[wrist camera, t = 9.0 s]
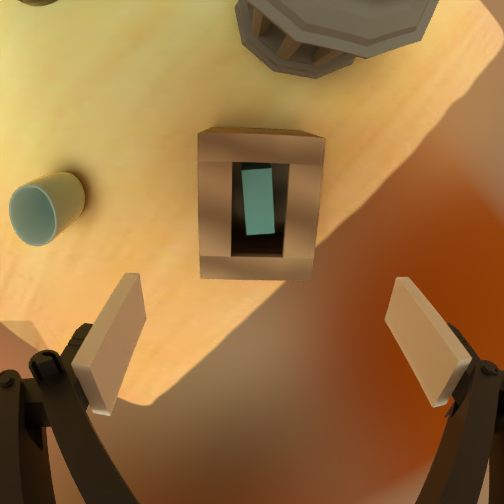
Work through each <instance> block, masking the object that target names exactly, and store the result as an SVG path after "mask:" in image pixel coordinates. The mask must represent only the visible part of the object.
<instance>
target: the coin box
mask: <svg viewBox="0 0 504 504" xmlns="http://www.w3.org/2000/svg"><path fill="white" fill-rule="evenodd" d="M324 151H325V138H322V137H319V136H316V135H313V134H310V133H307V132H304V131H297V130H282V129H262V128H209V129H207V130H205V131H202V132H200V133H198V223H199V255H200V279H230V280H292V281H310V280H311V273H312V267H313V259H314V251H315V243H316V234H317V225H318V216H319V207H320V197H321V186H322V175H323V164H324ZM242 162H257V163H269V164H270V166H271V169H272V187H273V207H274V228H275V233H270V234H256V235H247V234H246V221H245V209H244V196H243V184H242V171H241V169H242Z"/></svg>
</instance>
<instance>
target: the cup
mask: <svg viewBox="0 0 504 504" xmlns="http://www.w3.org/2000/svg"><path fill="white" fill-rule="evenodd" d="M84 204H85V193H84V189H83V186H82V184H81V182H80V181H79V179H78V178H77V177H76V176H74V175H73V174H70V173H67V172H56V173H51V174H47V175H44V176H42V177H39V178H37V179H34V180H32V181H30V182H28V183H26V184H24V185H22V186H20V187H19V188H18V189H17V190H15V192H14V193H13V194H12V197H11V199H10V204H9V214H10V219H11V223H12V226H13V228H14V230H15V232H16V234H17V235H18V236H19V238H20V239H21V240H22V241H24V242H25V243H27V244H29V245H32V246H43V245H46V244H48V243H49V242H51V241H53V240H54V239H55V238H56V237H58V236H59V235H60V234H61V233H63V232H64V231H65V230H66V229H67V228H68V227H70V226H71V225H72V224H73V223H74V222H75V221H76V220H77V218H78V217H79V216H80V214H81V213H82V211H83V208H84Z"/></svg>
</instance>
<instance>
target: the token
mask: <svg viewBox="0 0 504 504" xmlns="http://www.w3.org/2000/svg"><path fill="white" fill-rule="evenodd" d="M241 171H242V184H243V196H244V209H245V221H246V234H247V235H256V234H270V233H275V228H274V207H273V187H272V169H271V166H270V164H269V163H257V162H242V169H241Z"/></svg>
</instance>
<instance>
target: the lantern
mask: <svg viewBox="0 0 504 504" xmlns="http://www.w3.org/2000/svg"><path fill="white" fill-rule="evenodd" d="M438 1H439V0H239V1H238V3H237V5H236V6H235V12H236V16H237V21H238V26H239V30H240V35H241V40H242V44H243V45H244V46H245V47H246V48H248V49H249V50H250V51H251V52H252V53H254V54H255V55H256V56H257V57H258V58H259V59H260V60H262V61H263V62H264V63H265V64H266V65H267V66H268V67H270V68H271V69H272V70H273V71H275V72H281V73H287V74H293V75H299V76H304V77H309V78H314V79H316V78H319V77H321V76H323V75H326V74H328V73H331V72H333V71H335V70H338V69H340V68H343V67H345V66H348V65H351V64H352V63H353V61H354V59H355V57H356V56H357V57H361V58H364V59H367V58H370V57H373V56H375V55H378V54H381V53H384V52H387V51H390V50H393V49H396V48H399V47H402V46H405V45H408V44H411V43H415V42H418V41H421V39H422V37H423V35H424V33H425V31H426V28H427V26H428V24H429V22H430V20H431V17H432V15H433V13H434V10H435V8H436V6H437V4H438Z"/></svg>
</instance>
